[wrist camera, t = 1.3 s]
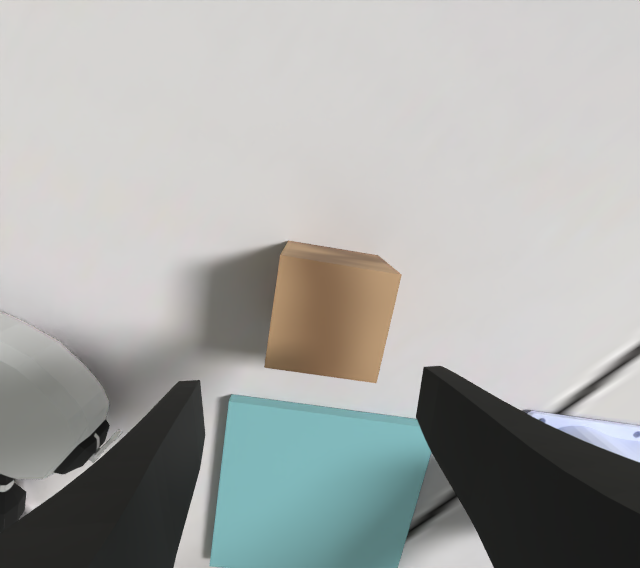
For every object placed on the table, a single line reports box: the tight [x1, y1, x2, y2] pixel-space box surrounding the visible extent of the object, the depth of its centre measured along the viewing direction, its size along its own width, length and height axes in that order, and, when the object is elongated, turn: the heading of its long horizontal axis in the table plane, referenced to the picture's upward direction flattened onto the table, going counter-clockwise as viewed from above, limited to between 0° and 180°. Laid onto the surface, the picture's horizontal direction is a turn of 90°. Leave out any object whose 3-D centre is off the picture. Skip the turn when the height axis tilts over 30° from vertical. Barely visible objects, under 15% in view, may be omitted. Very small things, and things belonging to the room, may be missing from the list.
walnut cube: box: [264, 241, 401, 383], centre depth 18 cm, size 6×6×6 cm
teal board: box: [210, 394, 431, 568], centre depth 24 cm, size 14×14×1 cm
